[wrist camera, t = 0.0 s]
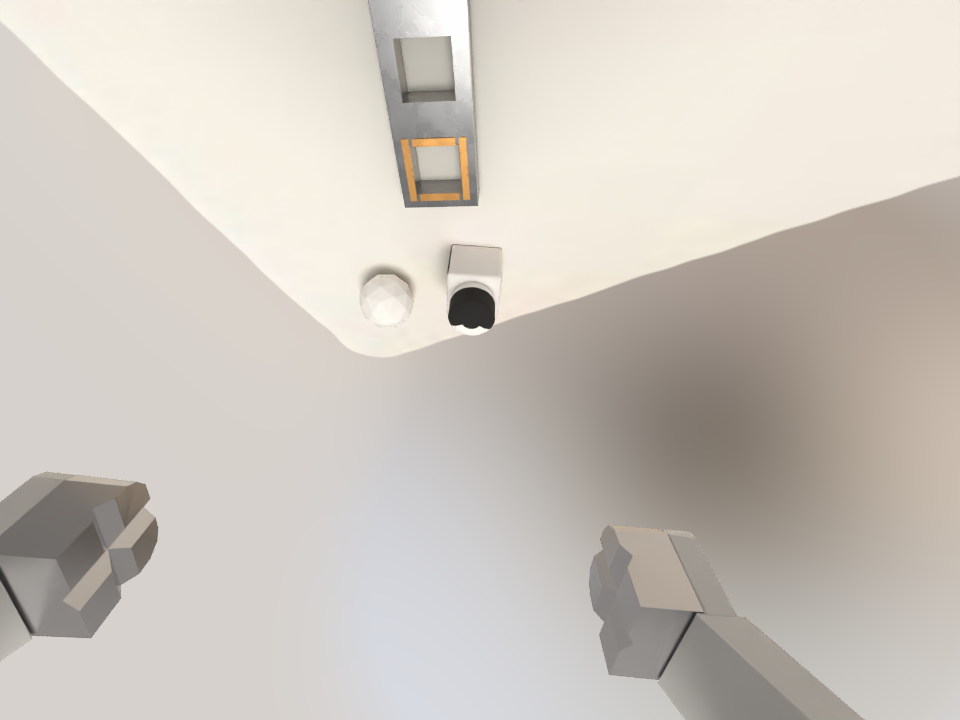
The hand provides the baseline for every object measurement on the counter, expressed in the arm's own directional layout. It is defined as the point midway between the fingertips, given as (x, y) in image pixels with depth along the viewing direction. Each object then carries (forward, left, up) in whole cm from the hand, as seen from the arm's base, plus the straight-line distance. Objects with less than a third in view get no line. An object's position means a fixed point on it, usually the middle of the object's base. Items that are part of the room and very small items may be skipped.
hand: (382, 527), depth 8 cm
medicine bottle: (+21, +22, -52) cm, 61 cm away
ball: (+33, +16, -52) cm, 64 cm away
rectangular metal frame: (+7, 0, -52) cm, 52 cm away
